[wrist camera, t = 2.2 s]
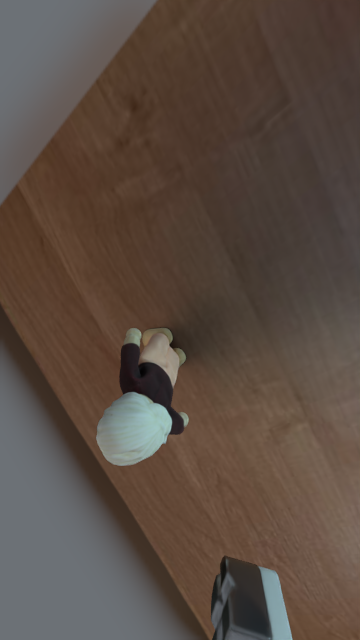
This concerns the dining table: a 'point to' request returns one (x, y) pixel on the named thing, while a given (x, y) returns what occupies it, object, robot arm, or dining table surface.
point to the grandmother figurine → (142, 399)
